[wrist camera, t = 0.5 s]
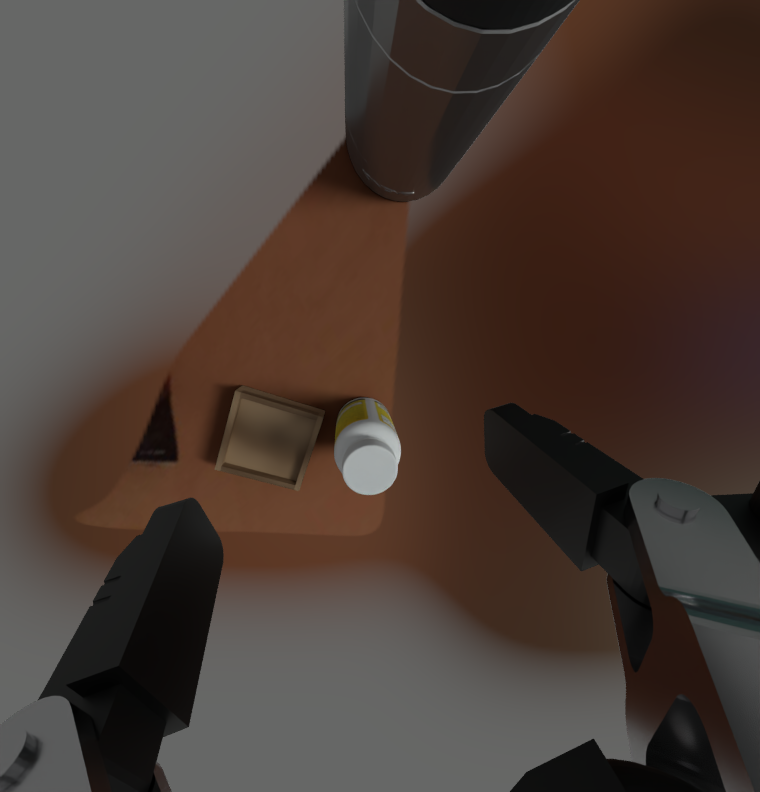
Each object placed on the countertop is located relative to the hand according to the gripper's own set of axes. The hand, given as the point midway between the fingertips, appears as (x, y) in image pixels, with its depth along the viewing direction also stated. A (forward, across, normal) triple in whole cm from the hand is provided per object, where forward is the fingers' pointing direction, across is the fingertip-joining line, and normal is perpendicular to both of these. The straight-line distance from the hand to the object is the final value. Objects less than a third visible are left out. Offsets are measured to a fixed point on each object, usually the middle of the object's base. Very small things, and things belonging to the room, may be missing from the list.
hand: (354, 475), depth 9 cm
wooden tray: (+22, +6, +10) cm, 25 cm away
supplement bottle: (+20, -2, +11) cm, 23 cm away
